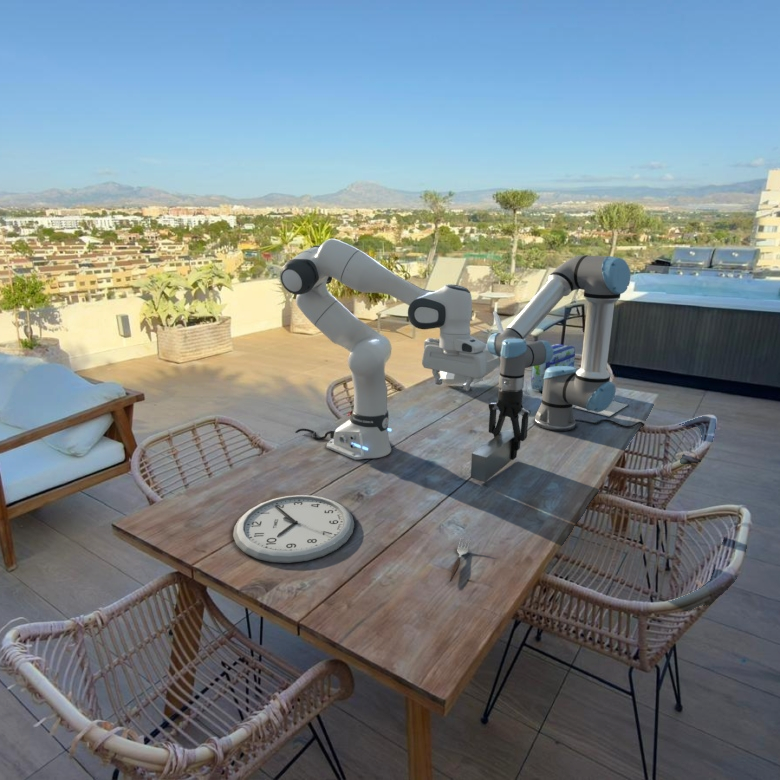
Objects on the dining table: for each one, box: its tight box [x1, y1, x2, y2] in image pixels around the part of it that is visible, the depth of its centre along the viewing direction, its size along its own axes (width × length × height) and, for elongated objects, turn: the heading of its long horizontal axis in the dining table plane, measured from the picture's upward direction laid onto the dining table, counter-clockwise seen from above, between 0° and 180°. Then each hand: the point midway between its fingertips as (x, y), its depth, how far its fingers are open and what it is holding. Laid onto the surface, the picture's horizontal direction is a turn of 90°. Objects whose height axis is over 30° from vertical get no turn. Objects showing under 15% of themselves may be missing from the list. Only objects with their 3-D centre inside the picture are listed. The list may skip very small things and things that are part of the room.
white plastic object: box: [439, 310, 531, 397], centre depth 245 cm, size 37×45×31 cm
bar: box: [470, 429, 514, 483], centre depth 164 cm, size 23×5×8 cm, turn 143°
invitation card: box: [573, 400, 629, 418], centre depth 226 cm, size 21×1×15 cm
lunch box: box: [530, 343, 576, 392], centre depth 248 cm, size 26×11×21 cm, turn 134°
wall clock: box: [232, 494, 355, 564], centre depth 132 cm, size 30×2×30 cm
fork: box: [449, 535, 471, 582], centre depth 119 cm, size 3×16×2 cm, turn 160°
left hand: (452, 387), depth 156 cm, fingers open, 8 cm apart
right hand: (505, 455), depth 171 cm, fingers closed on bar, 5 cm apart
